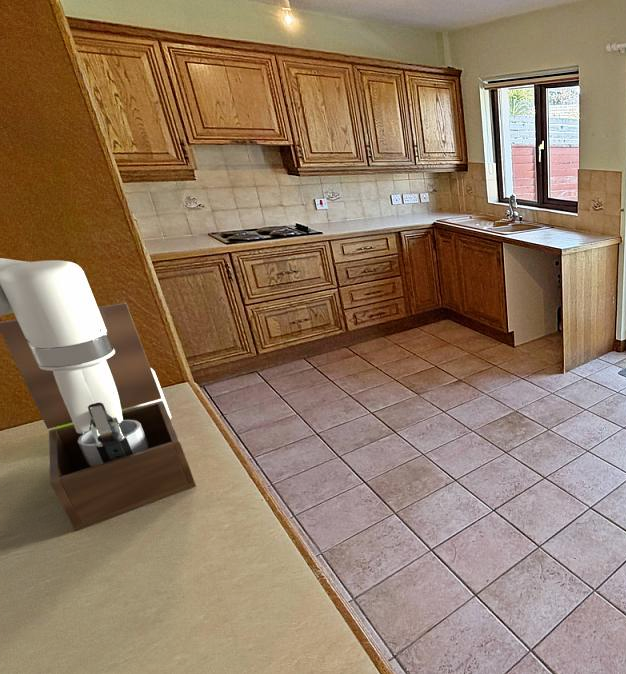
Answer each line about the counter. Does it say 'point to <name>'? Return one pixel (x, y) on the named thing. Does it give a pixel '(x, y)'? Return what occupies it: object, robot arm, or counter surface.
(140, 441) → the bowl
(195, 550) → the counter surface
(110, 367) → the lid
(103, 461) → the robot arm
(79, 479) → the chest
